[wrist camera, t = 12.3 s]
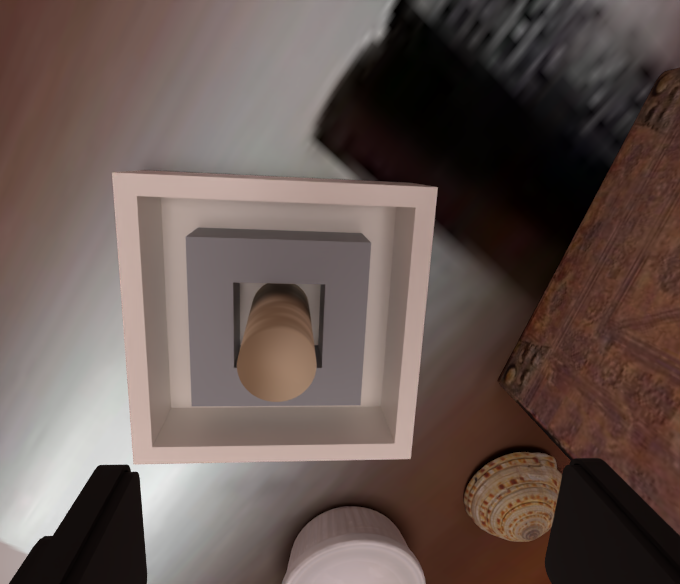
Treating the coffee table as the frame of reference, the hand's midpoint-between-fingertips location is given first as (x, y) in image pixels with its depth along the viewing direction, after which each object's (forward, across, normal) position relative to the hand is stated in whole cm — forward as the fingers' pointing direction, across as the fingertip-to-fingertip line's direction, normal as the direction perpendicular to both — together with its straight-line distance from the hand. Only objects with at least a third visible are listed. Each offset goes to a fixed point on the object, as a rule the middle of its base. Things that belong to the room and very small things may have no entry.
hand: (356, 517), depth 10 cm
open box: (+25, +2, +3) cm, 25 cm away
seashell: (+25, -18, +19) cm, 36 cm away
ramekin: (+25, -4, +25) cm, 35 cm away
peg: (+24, +2, +3) cm, 24 cm away
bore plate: (+25, +2, +3) cm, 25 cm away
